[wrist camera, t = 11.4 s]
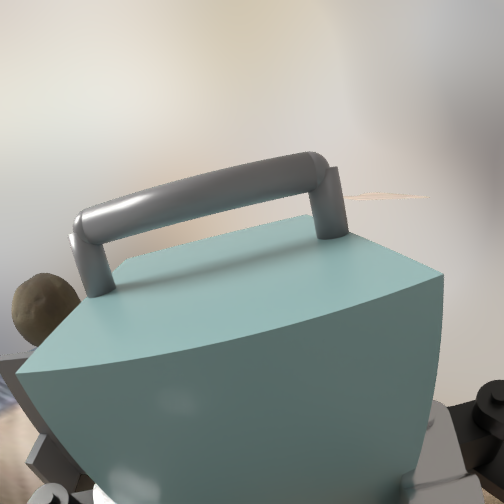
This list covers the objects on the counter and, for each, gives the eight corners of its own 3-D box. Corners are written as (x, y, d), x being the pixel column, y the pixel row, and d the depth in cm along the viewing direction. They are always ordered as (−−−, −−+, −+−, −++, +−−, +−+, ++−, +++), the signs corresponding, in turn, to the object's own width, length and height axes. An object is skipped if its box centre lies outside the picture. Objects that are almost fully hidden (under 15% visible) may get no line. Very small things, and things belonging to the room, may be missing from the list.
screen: (240, 502, 17) (172, 370, 14) (63, 501, 16) (-31, 387, 13) (235, 458, 22) (181, 325, 19) (75, 466, 21) (-1, 355, 18)
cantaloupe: (47, 339, 54) (21, 275, 50) (100, 326, 56) (75, 257, 53) (25, 373, 40) (-11, 297, 36) (86, 360, 43) (50, 277, 39)
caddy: (377, 562, 6) (428, 126, 2) (247, 593, 5) (-36, 248, 2) (339, 473, 11) (294, 157, 8) (235, 498, 11) (110, 204, 8)
